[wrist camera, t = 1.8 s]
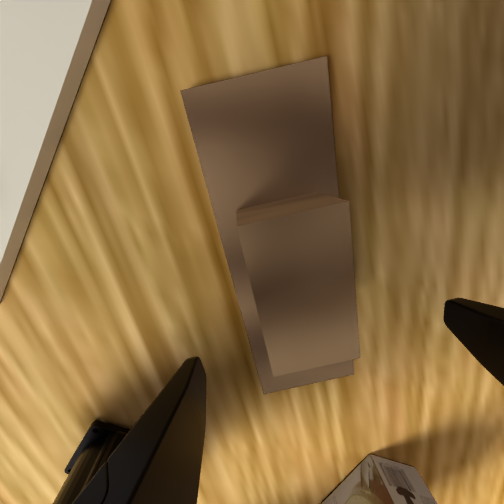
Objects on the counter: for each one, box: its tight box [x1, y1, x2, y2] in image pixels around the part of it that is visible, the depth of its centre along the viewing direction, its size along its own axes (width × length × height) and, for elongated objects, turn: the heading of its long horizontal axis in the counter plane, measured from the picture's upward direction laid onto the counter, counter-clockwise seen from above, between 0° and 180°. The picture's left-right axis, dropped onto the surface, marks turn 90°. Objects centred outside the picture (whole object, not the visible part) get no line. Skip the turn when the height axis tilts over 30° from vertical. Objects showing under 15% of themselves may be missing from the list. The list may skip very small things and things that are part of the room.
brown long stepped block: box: [181, 56, 360, 394], centre depth 13 cm, size 20×7×6 cm, turn 12°
